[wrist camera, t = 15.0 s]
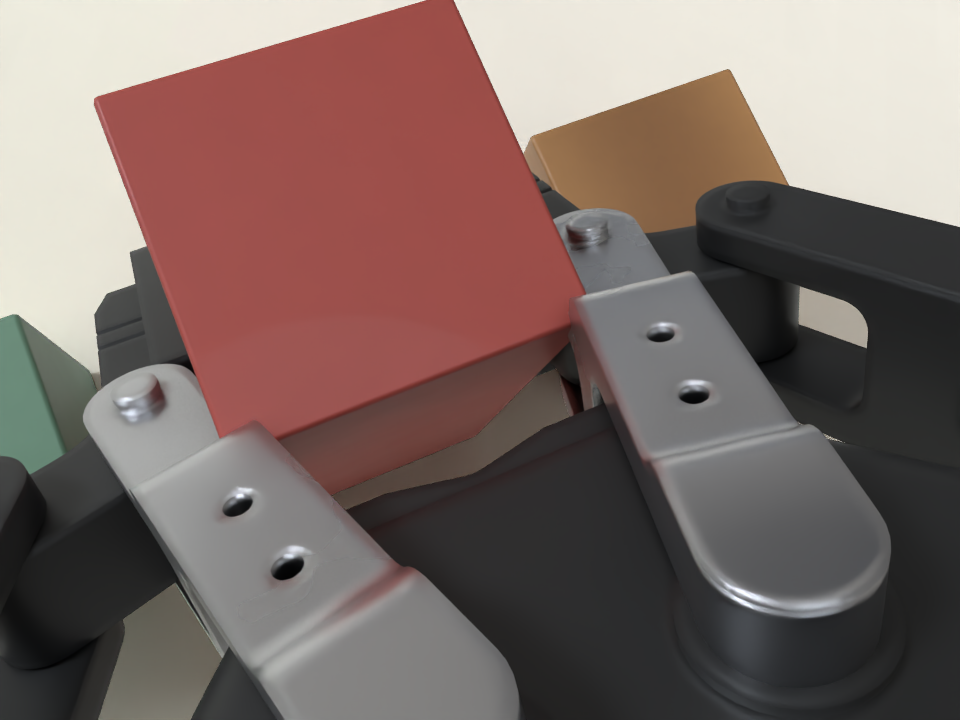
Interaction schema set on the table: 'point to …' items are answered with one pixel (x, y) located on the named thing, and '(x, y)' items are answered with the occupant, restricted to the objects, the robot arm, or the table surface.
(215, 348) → the tall red block
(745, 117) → the oak block
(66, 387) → the sage block
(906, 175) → the table surface
